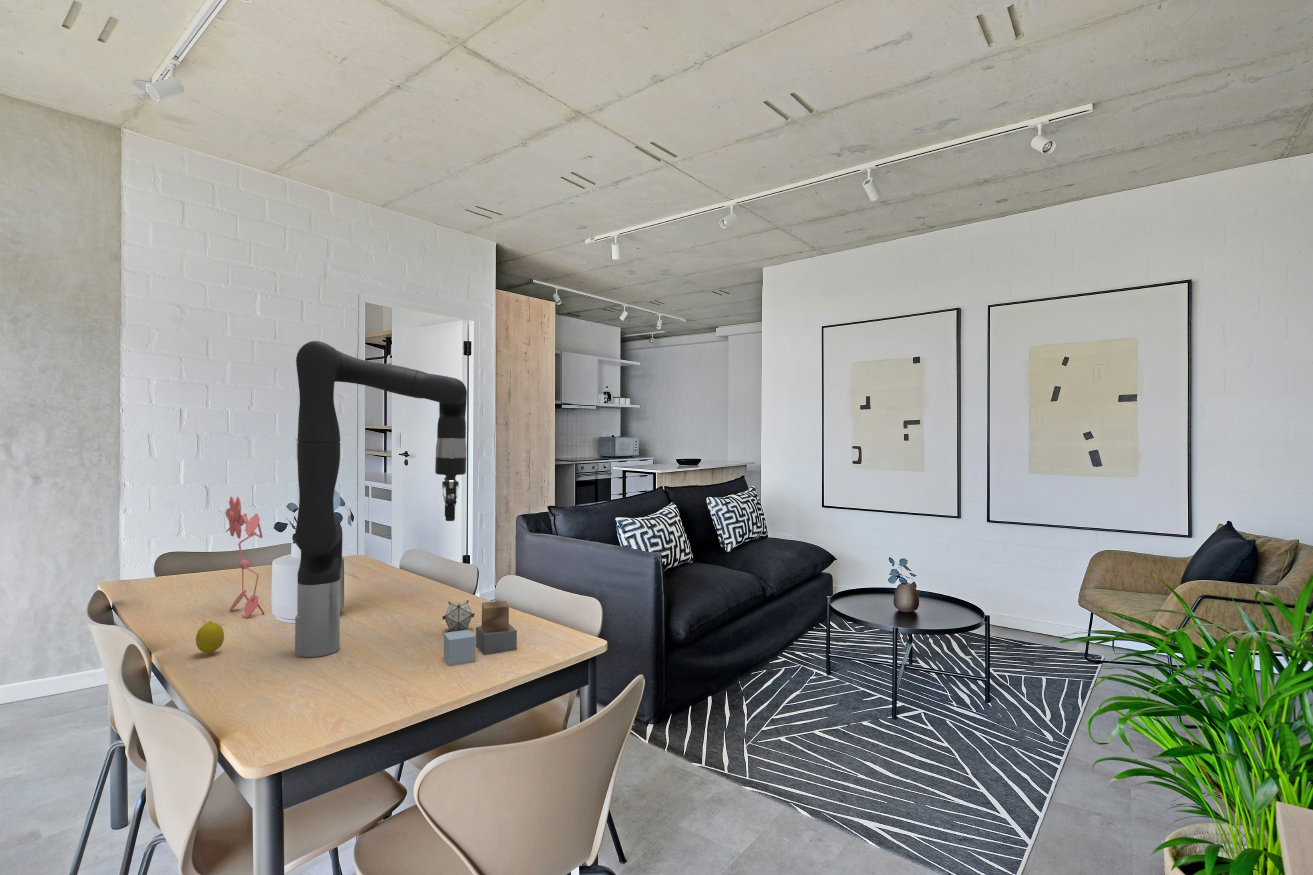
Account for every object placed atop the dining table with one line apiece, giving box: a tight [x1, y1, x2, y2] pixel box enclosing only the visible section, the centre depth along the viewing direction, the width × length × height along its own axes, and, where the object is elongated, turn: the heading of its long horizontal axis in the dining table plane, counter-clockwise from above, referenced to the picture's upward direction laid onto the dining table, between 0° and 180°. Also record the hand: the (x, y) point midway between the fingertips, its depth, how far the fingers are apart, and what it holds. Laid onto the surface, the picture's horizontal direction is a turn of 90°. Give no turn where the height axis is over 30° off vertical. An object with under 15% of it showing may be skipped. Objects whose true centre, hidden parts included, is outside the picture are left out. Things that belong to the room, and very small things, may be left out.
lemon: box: [195, 620, 225, 656], centre depth 151 cm, size 6×6×8 cm
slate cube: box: [443, 629, 476, 667], centre depth 149 cm, size 6×6×6 cm
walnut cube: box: [481, 600, 510, 633], centre depth 158 cm, size 6×6×6 cm
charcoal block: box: [475, 623, 518, 656], centre depth 158 cm, size 8×8×5 cm
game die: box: [442, 599, 476, 633], centre depth 171 cm, size 9×8×10 cm
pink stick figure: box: [225, 496, 265, 619], centre depth 183 cm, size 15×26×35 cm, turn 49°
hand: (449, 518), depth 162 cm, fingers open, 8 cm apart
